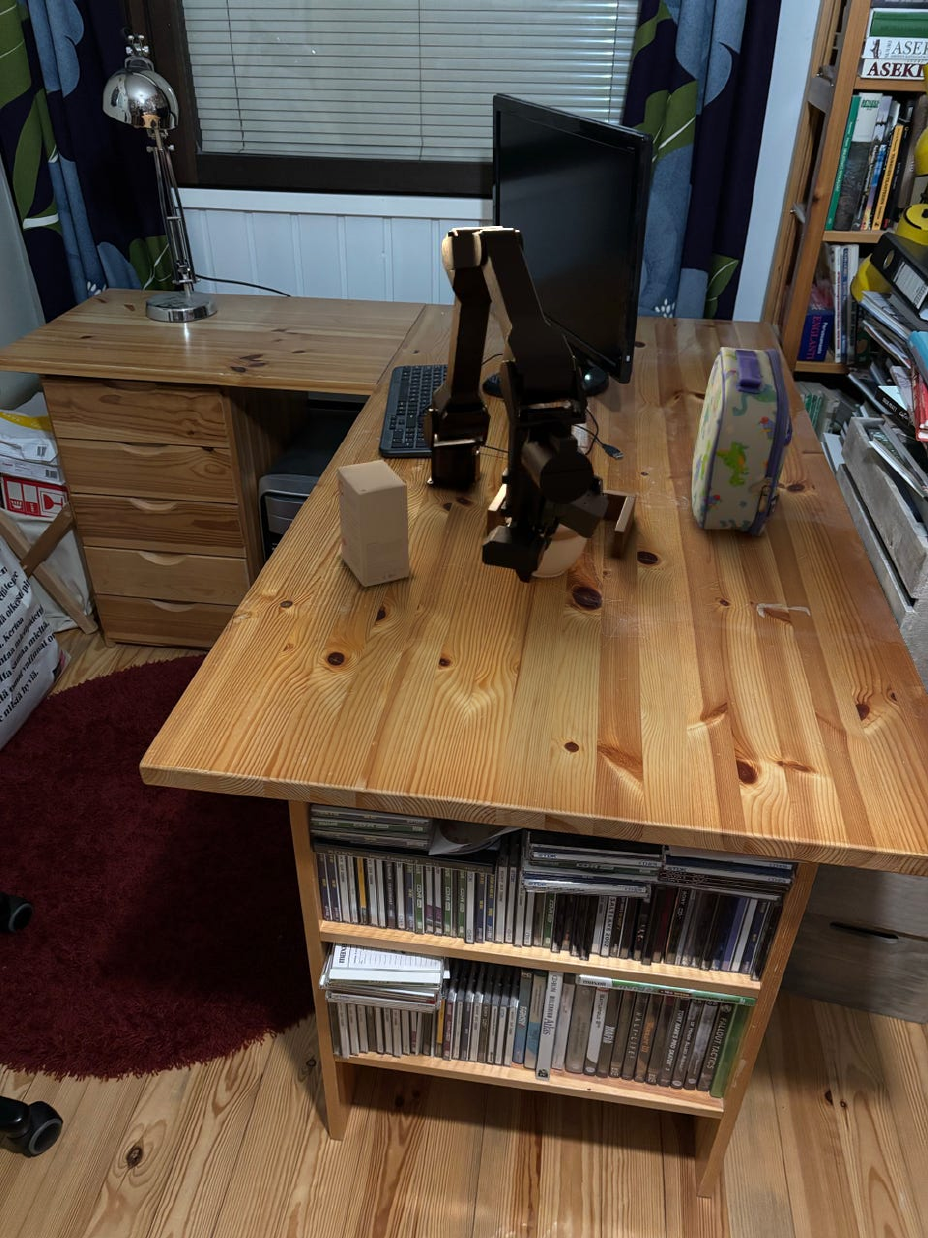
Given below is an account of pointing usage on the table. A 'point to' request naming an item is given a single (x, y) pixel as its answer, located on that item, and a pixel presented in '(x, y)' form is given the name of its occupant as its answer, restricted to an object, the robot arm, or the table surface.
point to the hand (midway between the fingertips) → (525, 581)
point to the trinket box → (560, 552)
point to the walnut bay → (617, 509)
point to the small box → (373, 522)
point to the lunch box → (741, 441)
